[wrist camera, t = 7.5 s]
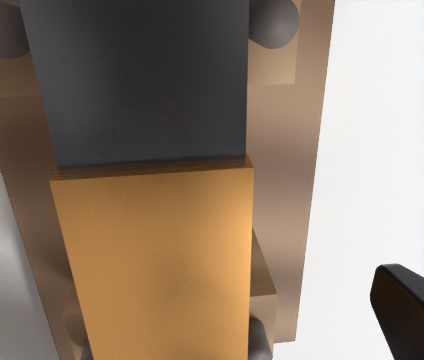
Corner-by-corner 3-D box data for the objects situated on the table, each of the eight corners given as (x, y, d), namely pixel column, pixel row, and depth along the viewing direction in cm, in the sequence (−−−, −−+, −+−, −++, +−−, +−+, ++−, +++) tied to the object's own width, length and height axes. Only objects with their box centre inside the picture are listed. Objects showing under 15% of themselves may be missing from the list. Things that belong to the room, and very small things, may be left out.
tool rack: (289, 325, 20) (334, 448, 15) (66, 349, 19) (27, 490, 14) (347, -226, 10) (549, -472, 5) (-107, -241, 9) (-497, -574, 4)
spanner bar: (224, 368, 14) (243, 485, 10) (138, 378, 13) (129, 502, 10) (221, -90, 7) (264, -158, 4) (57, -90, 7) (-37, -160, 4)
